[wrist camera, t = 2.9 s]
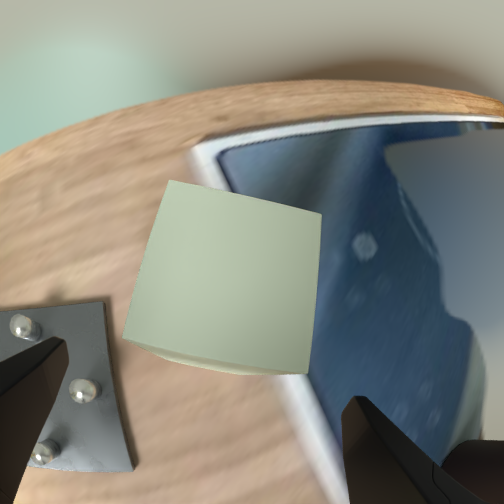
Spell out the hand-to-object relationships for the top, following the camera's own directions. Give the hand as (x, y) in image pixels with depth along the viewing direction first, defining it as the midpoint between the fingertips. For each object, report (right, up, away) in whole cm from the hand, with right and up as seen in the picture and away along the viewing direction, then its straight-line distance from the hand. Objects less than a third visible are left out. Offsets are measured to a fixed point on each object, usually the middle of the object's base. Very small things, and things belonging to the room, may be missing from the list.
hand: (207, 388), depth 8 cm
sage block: (-1, -1, +10) cm, 11 cm away
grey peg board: (-12, -5, +7) cm, 15 cm away
